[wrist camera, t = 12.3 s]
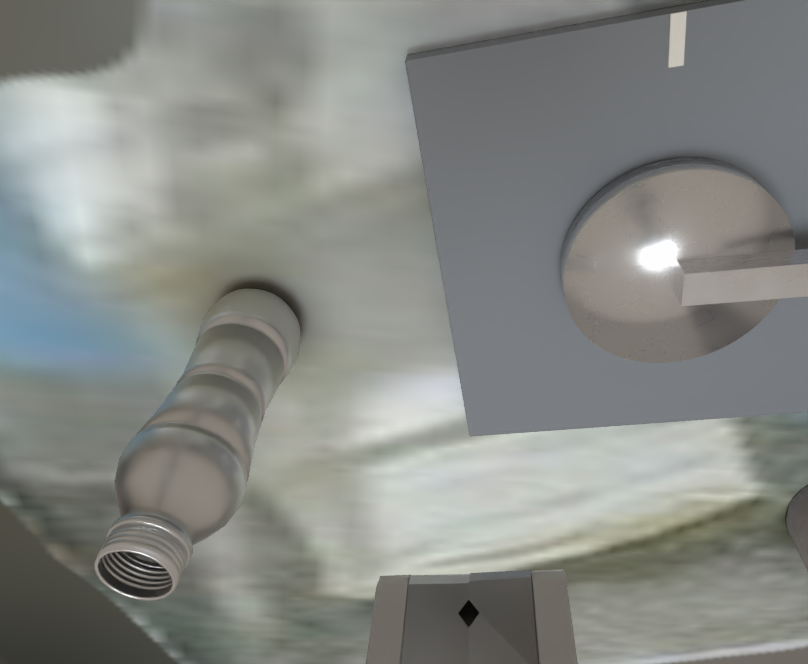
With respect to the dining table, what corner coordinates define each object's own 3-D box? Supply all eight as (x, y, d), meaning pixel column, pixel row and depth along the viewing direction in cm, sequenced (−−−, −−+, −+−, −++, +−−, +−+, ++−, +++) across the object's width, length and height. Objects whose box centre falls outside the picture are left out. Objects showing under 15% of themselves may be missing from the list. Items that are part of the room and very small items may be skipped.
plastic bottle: (317, 292, 42) (218, 549, 26) (297, 368, 46) (200, 632, 29) (221, 263, 41) (57, 507, 25) (209, 342, 45) (61, 599, 29)
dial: (561, 350, 41) (576, 425, 35) (558, 171, 34) (575, 227, 28) (859, 329, 38) (928, 407, 32) (919, 130, 31) (1019, 184, 26)
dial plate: (407, 54, 33) (404, 61, 32) (973, -48, 29) (998, -45, 27) (469, 422, 47) (469, 437, 46) (853, 393, 43) (866, 409, 42)
